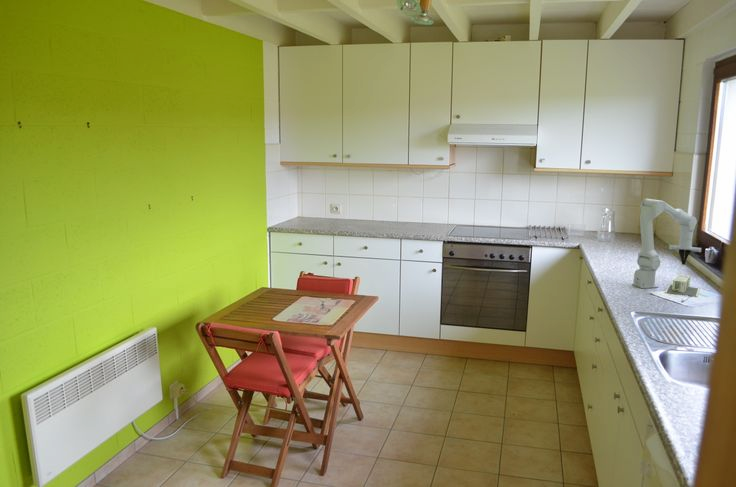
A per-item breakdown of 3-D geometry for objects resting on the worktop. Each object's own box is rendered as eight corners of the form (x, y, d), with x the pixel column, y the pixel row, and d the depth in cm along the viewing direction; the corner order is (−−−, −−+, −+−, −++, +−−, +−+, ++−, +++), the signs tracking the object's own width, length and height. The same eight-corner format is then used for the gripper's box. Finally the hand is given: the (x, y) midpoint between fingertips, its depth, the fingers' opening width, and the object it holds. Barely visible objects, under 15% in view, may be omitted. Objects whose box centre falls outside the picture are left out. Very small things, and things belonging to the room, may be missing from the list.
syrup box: (678, 274, 298) (672, 279, 287) (691, 275, 294) (685, 281, 283) (677, 284, 299) (670, 290, 288) (690, 286, 295) (684, 292, 284)
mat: (697, 297, 278) (697, 296, 278) (664, 292, 285) (664, 292, 285) (699, 288, 293) (699, 288, 293) (668, 285, 300) (668, 284, 300)
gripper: (702, 238, 301) (700, 264, 303) (671, 236, 309) (668, 261, 311) (701, 240, 295) (699, 267, 298) (669, 237, 303) (667, 263, 305)
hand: (683, 264), depth 304 cm, fingers closed
